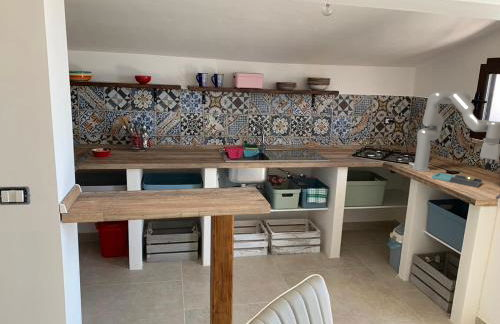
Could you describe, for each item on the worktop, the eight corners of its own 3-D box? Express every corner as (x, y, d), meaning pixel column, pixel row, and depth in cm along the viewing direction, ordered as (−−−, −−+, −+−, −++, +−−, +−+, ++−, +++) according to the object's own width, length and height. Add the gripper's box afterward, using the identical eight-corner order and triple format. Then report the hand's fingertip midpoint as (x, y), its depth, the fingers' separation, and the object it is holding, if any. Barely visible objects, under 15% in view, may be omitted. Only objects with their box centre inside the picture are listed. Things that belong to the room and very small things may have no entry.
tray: (431, 178, 262) (431, 175, 262) (438, 175, 272) (438, 172, 272) (449, 182, 255) (449, 179, 254) (455, 178, 265) (456, 176, 264)
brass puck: (464, 180, 252) (465, 176, 252) (466, 179, 256) (467, 175, 256) (472, 182, 249) (473, 178, 249) (474, 180, 253) (475, 177, 252)
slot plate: (449, 182, 255) (450, 177, 254) (456, 178, 265) (456, 174, 264) (476, 187, 244) (477, 182, 243) (481, 183, 254) (482, 179, 253)
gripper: (477, 140, 243) (473, 168, 247) (504, 143, 233) (499, 172, 237) (480, 139, 248) (476, 166, 252) (507, 142, 238) (502, 170, 242)
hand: (487, 169), depth 244 cm, fingers closed
